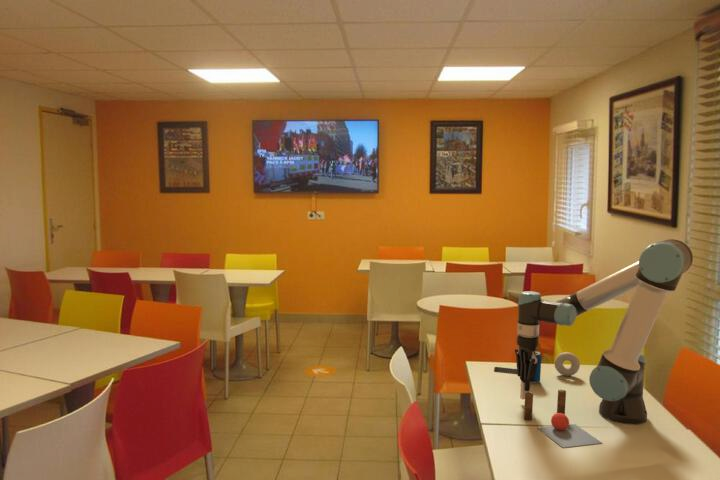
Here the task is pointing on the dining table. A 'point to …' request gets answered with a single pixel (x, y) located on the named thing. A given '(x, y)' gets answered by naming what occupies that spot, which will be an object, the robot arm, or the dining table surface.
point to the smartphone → (505, 370)
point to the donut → (570, 357)
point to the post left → (528, 406)
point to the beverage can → (538, 371)
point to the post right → (561, 401)
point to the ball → (560, 421)
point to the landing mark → (570, 436)
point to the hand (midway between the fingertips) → (524, 398)
